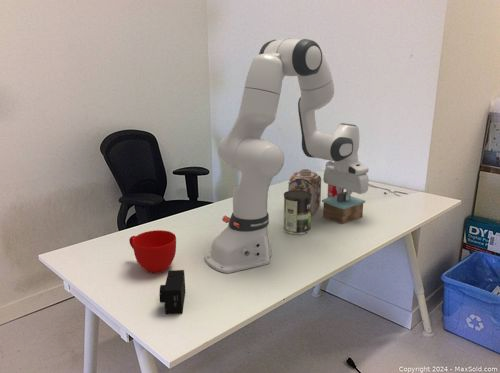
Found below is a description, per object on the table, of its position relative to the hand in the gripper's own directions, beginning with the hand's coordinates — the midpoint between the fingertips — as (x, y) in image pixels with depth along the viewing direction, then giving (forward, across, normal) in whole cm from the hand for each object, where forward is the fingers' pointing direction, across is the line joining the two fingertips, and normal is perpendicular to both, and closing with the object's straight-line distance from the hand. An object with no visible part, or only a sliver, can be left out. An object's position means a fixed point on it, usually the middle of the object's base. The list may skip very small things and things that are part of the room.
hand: (343, 198), depth 162 cm
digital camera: (+9, +14, -81) cm, 83 cm away
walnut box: (+8, 0, 0) cm, 8 cm away
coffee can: (+9, -3, -22) cm, 24 cm away
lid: (+3, 0, 0) cm, 3 cm away
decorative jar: (+9, -16, -6) cm, 19 cm away
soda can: (+9, -17, +14) cm, 24 cm away
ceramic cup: (+9, -8, -78) cm, 79 cm away
